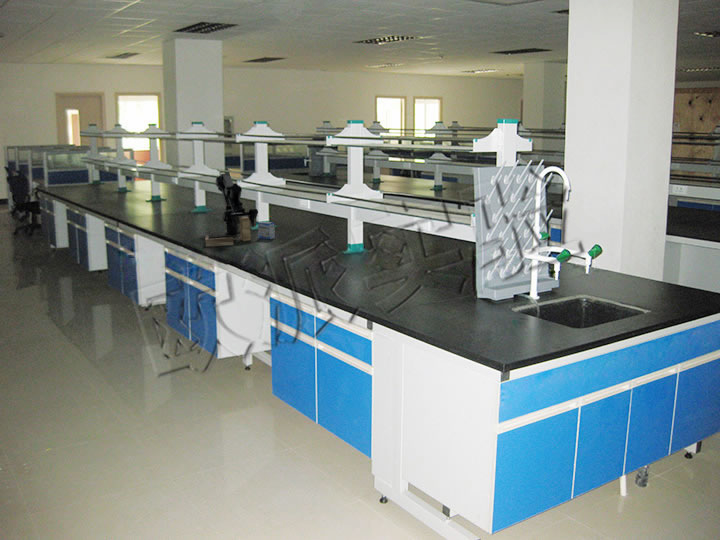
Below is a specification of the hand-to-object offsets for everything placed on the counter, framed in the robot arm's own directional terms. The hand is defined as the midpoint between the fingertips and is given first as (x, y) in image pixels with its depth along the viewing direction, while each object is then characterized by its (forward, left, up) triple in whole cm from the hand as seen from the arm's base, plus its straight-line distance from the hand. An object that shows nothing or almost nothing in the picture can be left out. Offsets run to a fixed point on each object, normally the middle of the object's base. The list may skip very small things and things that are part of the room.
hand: (245, 227), depth 367 cm
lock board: (+12, -8, -7) cm, 16 cm away
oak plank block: (-1, -1, -7) cm, 7 cm away
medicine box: (-9, +7, -7) cm, 13 cm away
